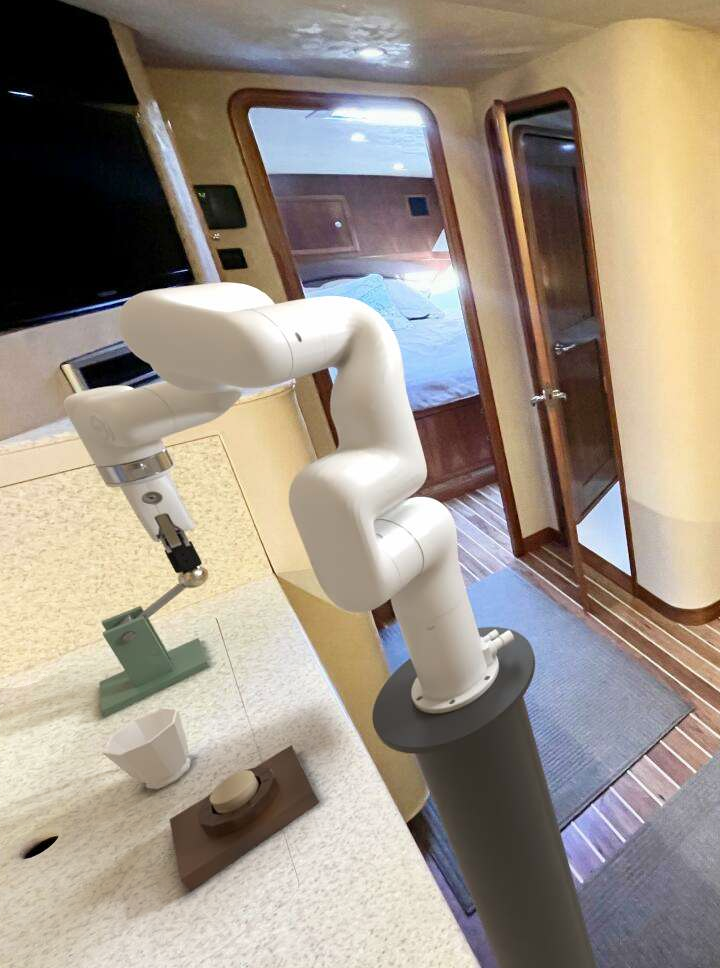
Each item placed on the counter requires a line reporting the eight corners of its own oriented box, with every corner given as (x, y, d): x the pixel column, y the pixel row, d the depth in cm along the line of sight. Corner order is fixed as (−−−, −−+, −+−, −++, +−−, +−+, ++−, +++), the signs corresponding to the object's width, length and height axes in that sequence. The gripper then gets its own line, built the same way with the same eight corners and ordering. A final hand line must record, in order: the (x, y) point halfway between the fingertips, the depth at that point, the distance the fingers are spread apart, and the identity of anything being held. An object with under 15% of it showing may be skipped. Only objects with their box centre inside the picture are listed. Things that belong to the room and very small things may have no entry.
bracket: (201, 642, 94) (171, 588, 90) (209, 666, 88) (178, 609, 84) (102, 687, 86) (64, 629, 81) (105, 716, 80) (64, 656, 76)
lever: (212, 570, 91) (192, 558, 89) (216, 577, 89) (195, 566, 87) (129, 636, 85) (105, 626, 83) (131, 646, 83) (106, 636, 80)
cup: (141, 810, 66) (109, 765, 63) (118, 773, 71) (88, 730, 68) (212, 763, 72) (186, 719, 69) (186, 731, 77) (161, 689, 74)
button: (255, 773, 66) (249, 763, 65) (262, 793, 63) (256, 783, 63) (213, 799, 63) (206, 789, 62) (219, 821, 60) (212, 811, 60)
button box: (297, 755, 72) (287, 734, 70) (319, 802, 65) (308, 780, 64) (177, 831, 63) (162, 809, 62) (189, 892, 57) (172, 869, 56)
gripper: (177, 469, 79) (226, 572, 85) (165, 448, 88) (211, 542, 95) (103, 490, 74) (162, 597, 80) (99, 464, 83) (152, 562, 89)
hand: (188, 567), depth 87 cm, fingers closed
